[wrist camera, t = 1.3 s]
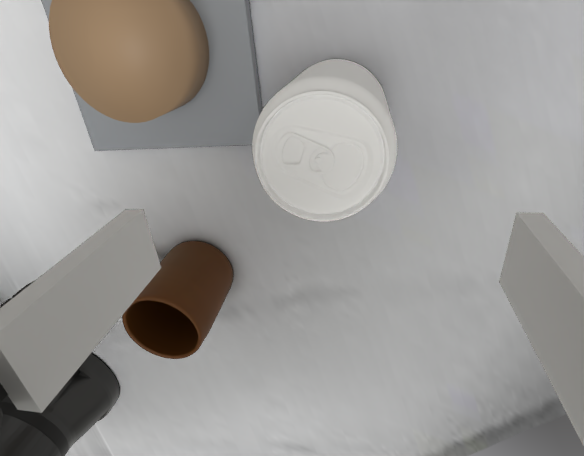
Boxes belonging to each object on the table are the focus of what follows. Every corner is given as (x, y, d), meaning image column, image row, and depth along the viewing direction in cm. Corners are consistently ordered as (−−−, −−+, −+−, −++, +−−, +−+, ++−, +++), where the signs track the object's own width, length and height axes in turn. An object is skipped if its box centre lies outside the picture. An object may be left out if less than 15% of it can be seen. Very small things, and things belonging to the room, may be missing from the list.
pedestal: (102, 147, 34) (60, 167, 30) (29, -66, 27) (-43, -85, 22) (265, 140, 31) (248, 161, 27) (236, -102, 24) (204, -133, 19)
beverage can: (363, 173, 31) (364, 247, 21) (275, 144, 31) (232, 203, 21) (403, 77, 27) (428, 111, 17) (301, 43, 27) (264, 56, 17)
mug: (130, 271, 42) (75, 331, 34) (131, 216, 38) (69, 269, 30) (229, 302, 42) (197, 370, 34) (241, 250, 38) (207, 312, 30)
